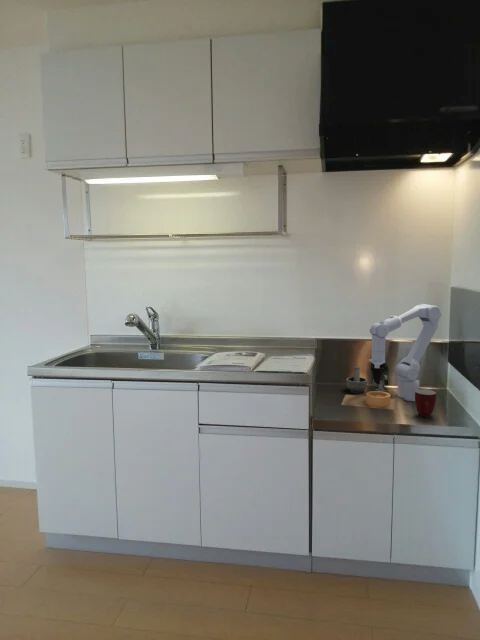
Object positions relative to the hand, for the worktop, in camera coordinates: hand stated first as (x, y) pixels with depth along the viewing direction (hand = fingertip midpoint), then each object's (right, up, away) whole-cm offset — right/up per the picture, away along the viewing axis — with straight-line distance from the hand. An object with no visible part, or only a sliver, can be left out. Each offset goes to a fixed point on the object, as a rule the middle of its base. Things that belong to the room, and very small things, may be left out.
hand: (377, 380), depth 223 cm
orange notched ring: (-1, -9, -6) cm, 11 cm away
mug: (+14, -12, -20) cm, 27 cm away
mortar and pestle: (-6, -8, +14) cm, 17 cm away
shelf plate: (-5, -10, -3) cm, 12 cm away
